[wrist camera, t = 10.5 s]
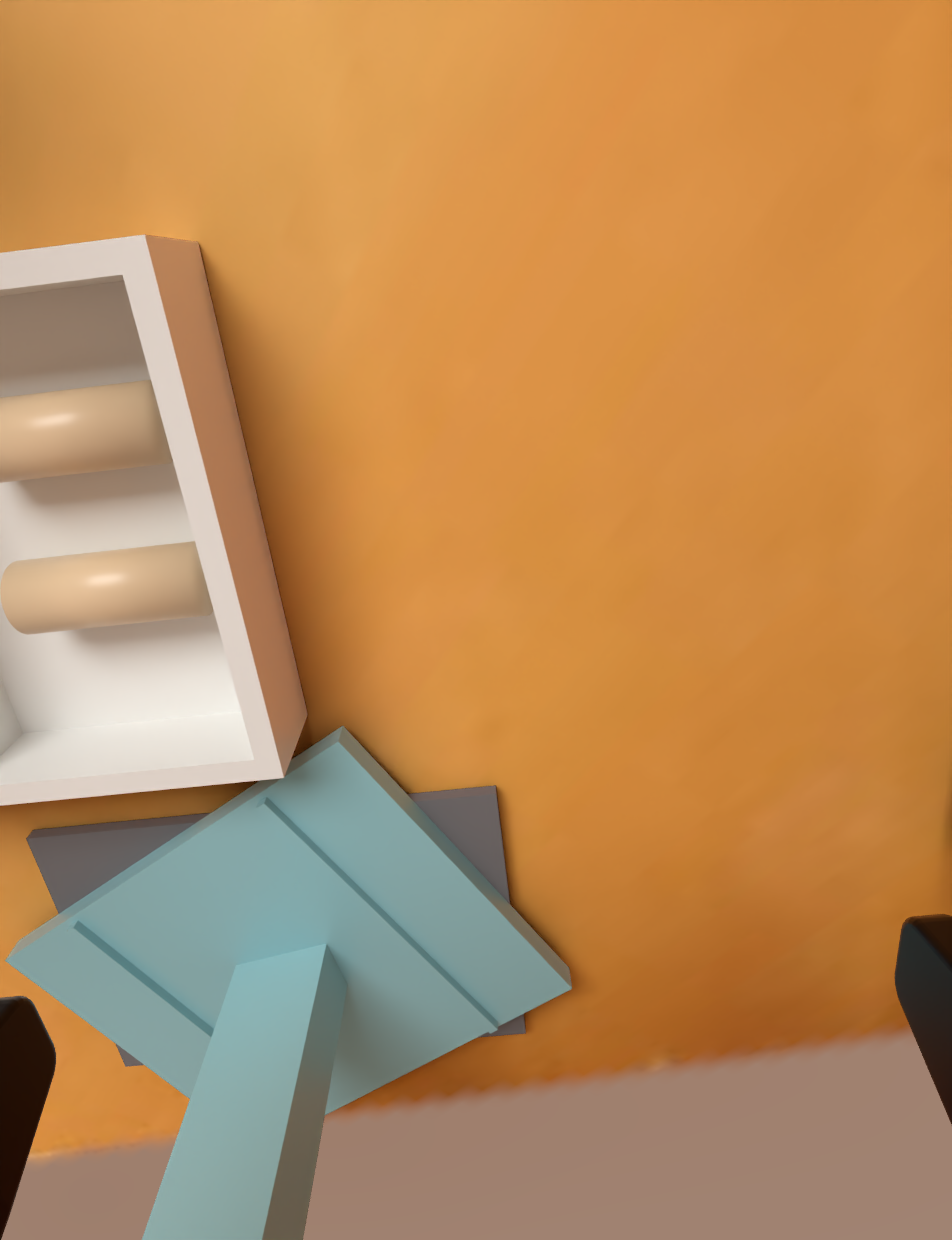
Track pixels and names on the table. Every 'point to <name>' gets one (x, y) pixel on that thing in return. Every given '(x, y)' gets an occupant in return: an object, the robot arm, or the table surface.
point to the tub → (130, 536)
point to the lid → (288, 976)
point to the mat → (107, 849)
